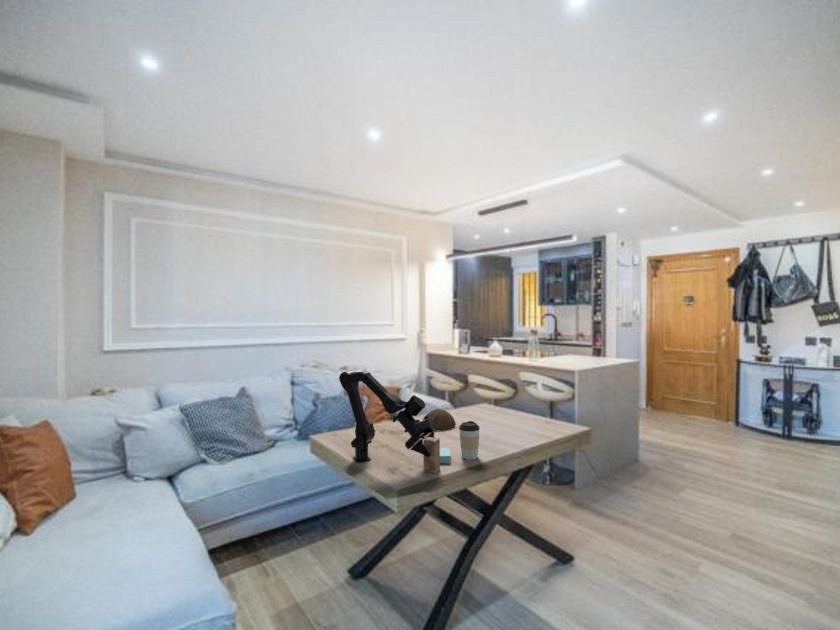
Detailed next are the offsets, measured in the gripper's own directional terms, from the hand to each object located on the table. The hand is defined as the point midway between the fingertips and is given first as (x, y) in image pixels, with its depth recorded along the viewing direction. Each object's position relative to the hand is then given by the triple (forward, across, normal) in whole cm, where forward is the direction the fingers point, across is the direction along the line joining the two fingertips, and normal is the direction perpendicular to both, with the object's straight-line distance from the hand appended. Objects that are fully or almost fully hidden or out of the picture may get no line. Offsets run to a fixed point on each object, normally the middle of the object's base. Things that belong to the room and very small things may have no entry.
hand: (434, 452), depth 168 cm
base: (+2, +13, +8) cm, 16 cm away
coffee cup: (+11, +21, 0) cm, 24 cm away
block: (+4, 0, +6) cm, 7 cm away
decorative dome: (-12, +64, +22) cm, 68 cm away
